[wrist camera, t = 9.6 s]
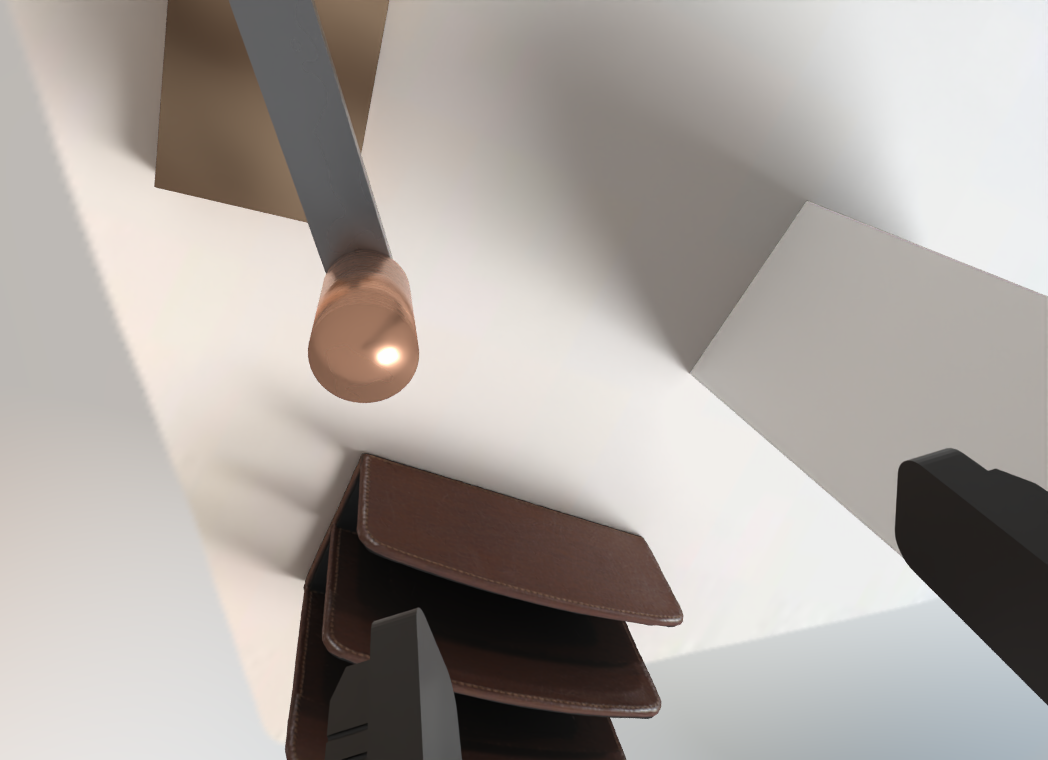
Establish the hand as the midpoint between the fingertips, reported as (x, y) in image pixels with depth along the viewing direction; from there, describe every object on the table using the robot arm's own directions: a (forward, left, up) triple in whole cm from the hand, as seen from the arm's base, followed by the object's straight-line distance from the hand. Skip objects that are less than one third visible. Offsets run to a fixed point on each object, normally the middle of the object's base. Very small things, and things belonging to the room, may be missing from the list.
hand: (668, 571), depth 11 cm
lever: (-4, -8, -18) cm, 20 cm away
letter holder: (+21, +6, -26) cm, 34 cm away
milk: (+1, +22, -26) cm, 34 cm away
